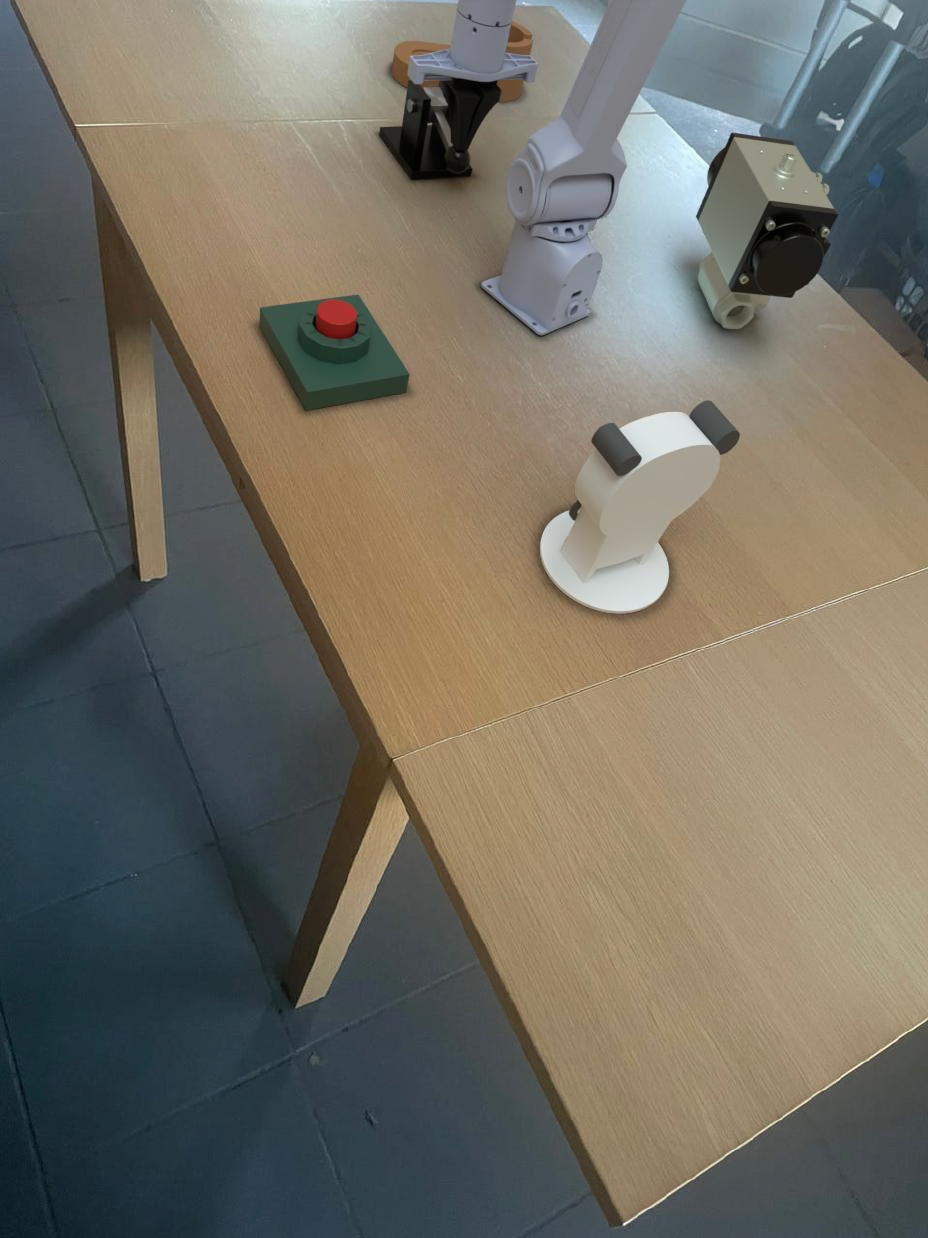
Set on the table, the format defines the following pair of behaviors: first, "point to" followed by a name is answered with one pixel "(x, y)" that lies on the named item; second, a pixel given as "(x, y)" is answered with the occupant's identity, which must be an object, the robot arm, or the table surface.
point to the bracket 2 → (419, 138)
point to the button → (336, 319)
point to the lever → (446, 132)
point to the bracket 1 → (516, 44)
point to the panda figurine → (633, 506)
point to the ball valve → (760, 226)
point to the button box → (332, 355)
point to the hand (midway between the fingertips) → (459, 145)
